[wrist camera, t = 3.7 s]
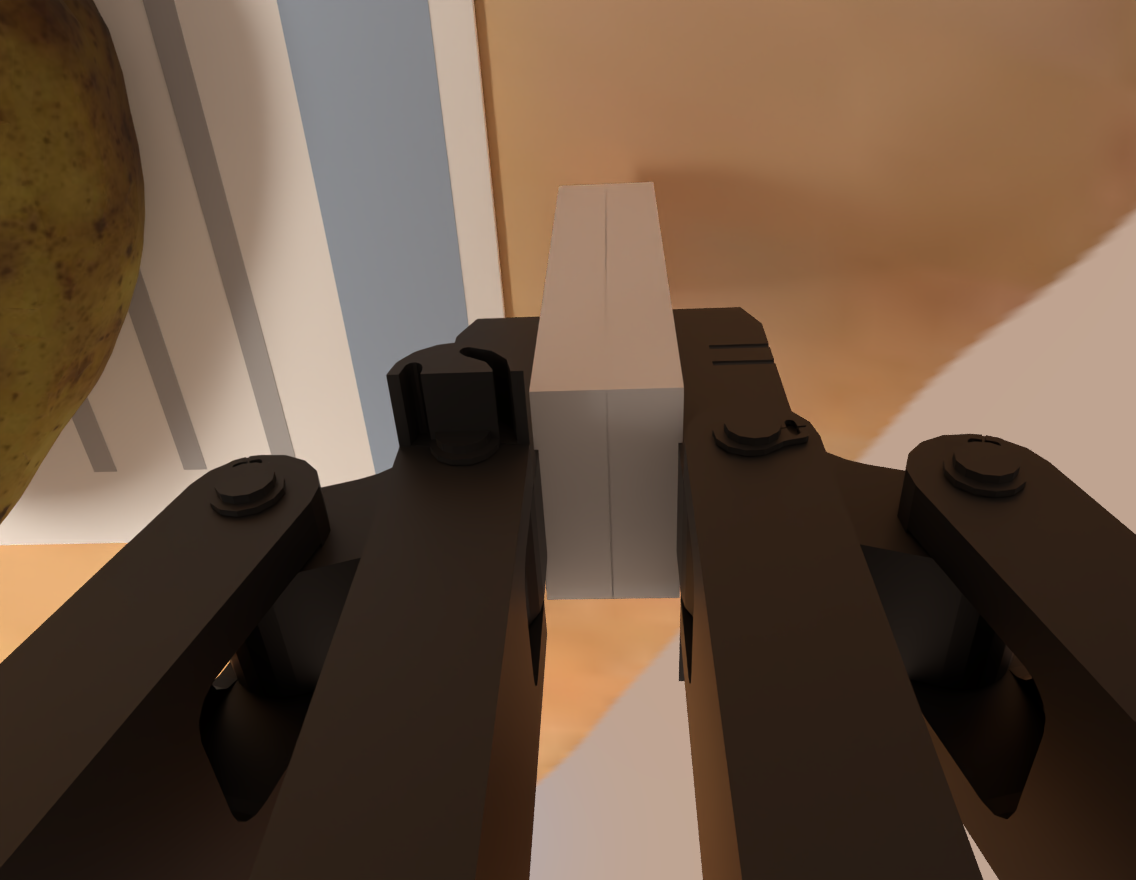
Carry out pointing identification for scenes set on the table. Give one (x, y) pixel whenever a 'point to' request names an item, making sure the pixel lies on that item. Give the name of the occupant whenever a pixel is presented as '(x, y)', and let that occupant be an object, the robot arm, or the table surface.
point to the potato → (60, 222)
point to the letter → (278, 246)
